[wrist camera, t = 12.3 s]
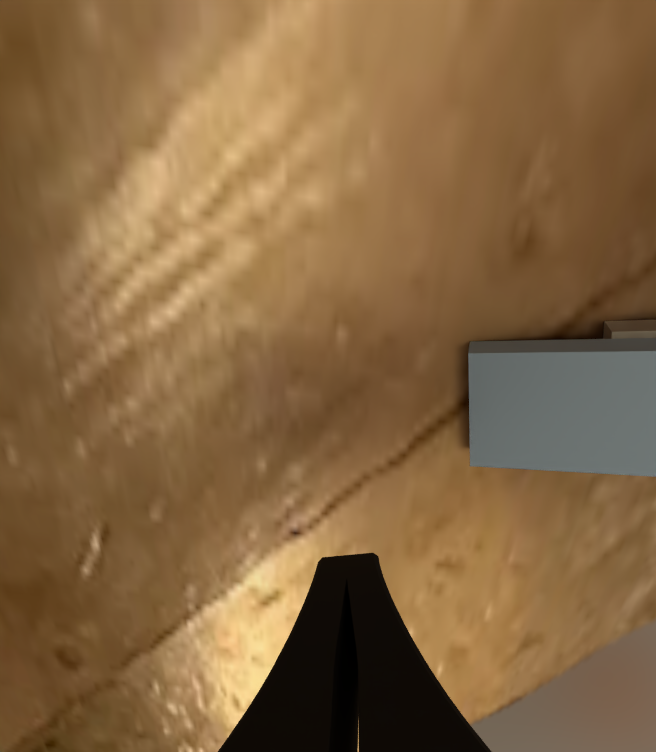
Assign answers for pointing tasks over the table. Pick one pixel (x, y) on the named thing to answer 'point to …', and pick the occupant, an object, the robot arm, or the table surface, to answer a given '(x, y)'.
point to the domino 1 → (564, 405)
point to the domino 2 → (629, 329)
